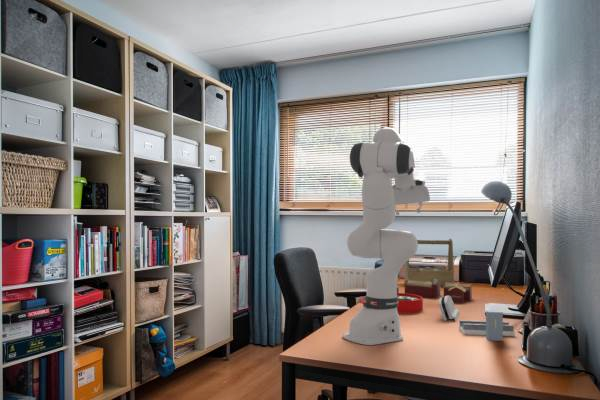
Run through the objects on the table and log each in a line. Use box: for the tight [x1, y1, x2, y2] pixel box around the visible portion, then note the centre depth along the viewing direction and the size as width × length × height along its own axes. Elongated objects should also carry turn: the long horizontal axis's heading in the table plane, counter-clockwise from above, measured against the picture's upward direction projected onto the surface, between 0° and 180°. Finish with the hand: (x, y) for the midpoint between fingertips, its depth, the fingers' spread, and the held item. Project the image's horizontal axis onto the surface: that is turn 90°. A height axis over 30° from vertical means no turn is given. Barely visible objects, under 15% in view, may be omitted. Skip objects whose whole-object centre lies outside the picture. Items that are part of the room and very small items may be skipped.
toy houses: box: [397, 279, 473, 304], centre depth 239 cm, size 45×20×10 cm, turn 63°
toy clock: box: [397, 292, 424, 314], centre depth 208 cm, size 20×6×20 cm
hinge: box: [438, 296, 461, 322], centre depth 193 cm, size 17×5×10 cm, turn 155°
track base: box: [458, 319, 516, 337], centre depth 167 cm, size 18×8×4 cm, turn 84°
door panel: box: [485, 310, 504, 342], centre depth 157 cm, size 5×3×10 cm, turn 84°
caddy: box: [403, 238, 455, 287], centre depth 281 cm, size 29×11×30 cm, turn 87°
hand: (408, 213), depth 198 cm, fingers open, 8 cm apart
